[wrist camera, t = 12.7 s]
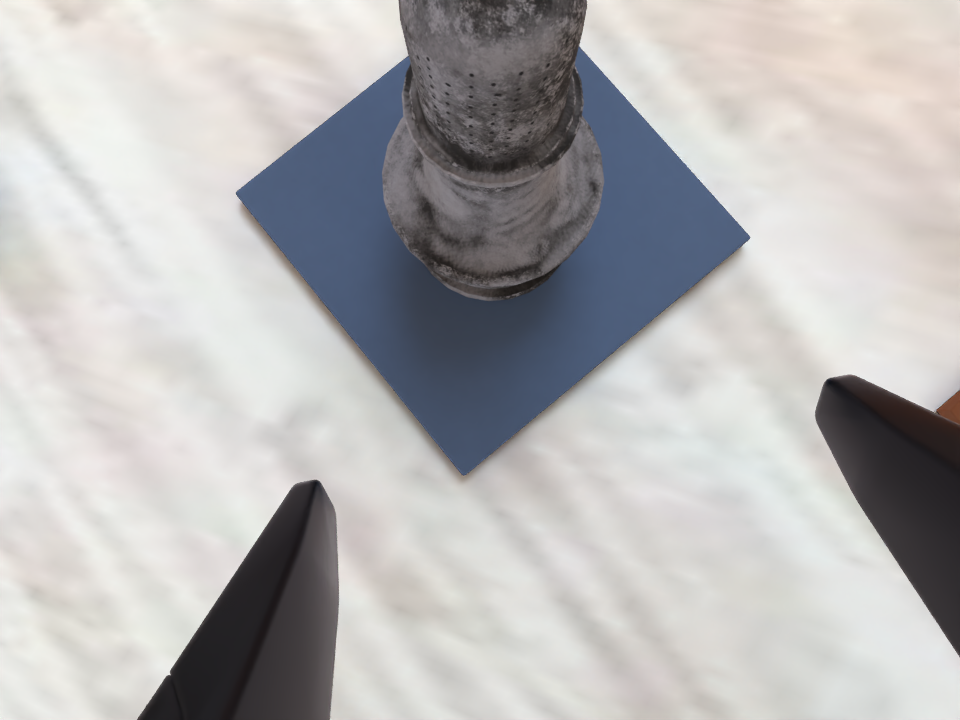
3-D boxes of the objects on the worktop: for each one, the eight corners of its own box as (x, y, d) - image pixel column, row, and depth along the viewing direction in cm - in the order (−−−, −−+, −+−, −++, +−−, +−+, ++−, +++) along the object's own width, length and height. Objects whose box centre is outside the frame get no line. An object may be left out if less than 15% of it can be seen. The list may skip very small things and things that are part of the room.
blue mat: (464, 474, 19) (463, 477, 18) (242, 198, 20) (234, 192, 19) (744, 242, 19) (752, 237, 19) (512, -16, 20) (513, -29, 20)
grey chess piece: (519, 345, 18) (570, 224, 6) (367, 247, 19) (149, -37, 7) (617, 194, 19) (835, -185, 7) (466, 101, 19) (423, -411, 7)
